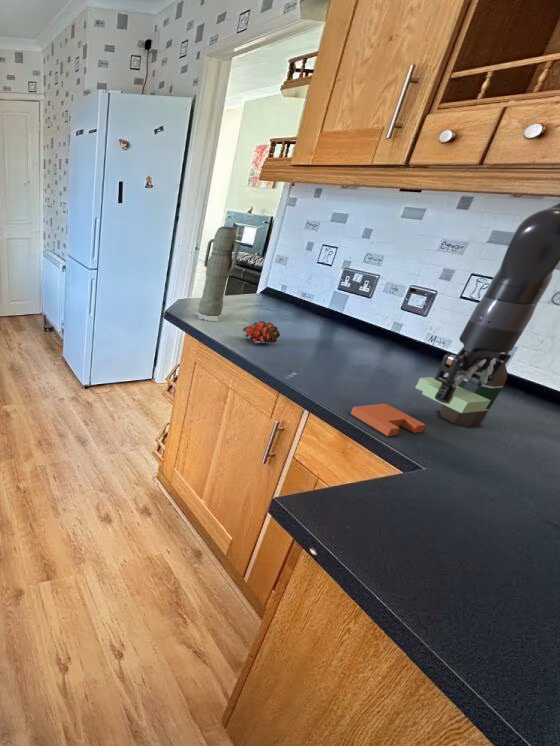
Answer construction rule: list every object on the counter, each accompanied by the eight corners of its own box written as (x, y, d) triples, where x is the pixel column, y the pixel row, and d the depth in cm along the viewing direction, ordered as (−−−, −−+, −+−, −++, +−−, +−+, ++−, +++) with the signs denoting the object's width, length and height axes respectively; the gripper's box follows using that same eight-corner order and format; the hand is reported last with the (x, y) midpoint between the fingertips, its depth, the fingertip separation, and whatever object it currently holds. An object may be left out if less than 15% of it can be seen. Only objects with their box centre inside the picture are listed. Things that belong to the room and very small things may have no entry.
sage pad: (431, 386, 92) (436, 376, 91) (484, 411, 83) (491, 400, 82) (409, 388, 91) (414, 378, 90) (461, 413, 82) (467, 402, 80)
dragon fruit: (277, 352, 142) (240, 348, 149) (284, 333, 145) (247, 330, 152) (276, 337, 136) (238, 333, 143) (283, 317, 138) (245, 314, 146)
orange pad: (382, 410, 105) (386, 403, 104) (422, 431, 96) (426, 424, 95) (350, 413, 103) (353, 406, 102) (387, 436, 94) (391, 428, 93)
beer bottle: (483, 421, 101) (539, 328, 90) (474, 431, 97) (531, 335, 86) (443, 408, 106) (491, 318, 95) (433, 416, 102) (482, 324, 92)
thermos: (219, 323, 163) (240, 230, 147) (190, 317, 169) (207, 226, 153) (226, 318, 169) (247, 228, 153) (198, 312, 175) (215, 225, 159)
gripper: (490, 331, 73) (444, 412, 81) (549, 327, 76) (500, 406, 84) (446, 317, 79) (407, 393, 87) (502, 314, 82) (460, 388, 90)
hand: (453, 399), depth 85 cm, fingers closed on sage pad, 6 cm apart
